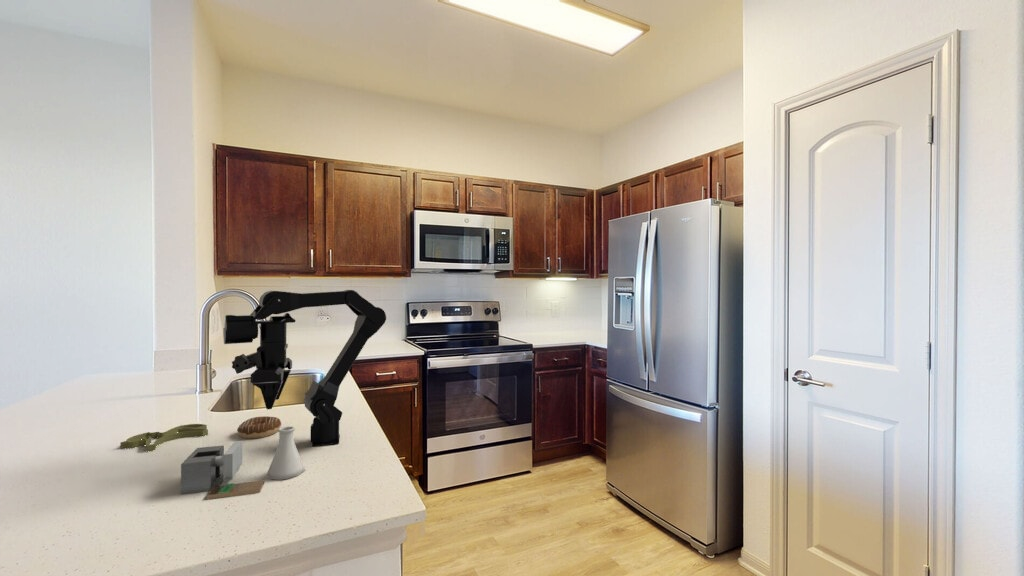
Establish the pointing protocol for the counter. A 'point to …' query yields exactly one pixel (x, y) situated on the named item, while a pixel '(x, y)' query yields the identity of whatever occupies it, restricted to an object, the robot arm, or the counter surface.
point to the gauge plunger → (230, 461)
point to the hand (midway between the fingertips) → (272, 404)
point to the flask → (285, 457)
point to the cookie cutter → (164, 436)
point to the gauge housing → (211, 475)
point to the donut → (259, 427)
